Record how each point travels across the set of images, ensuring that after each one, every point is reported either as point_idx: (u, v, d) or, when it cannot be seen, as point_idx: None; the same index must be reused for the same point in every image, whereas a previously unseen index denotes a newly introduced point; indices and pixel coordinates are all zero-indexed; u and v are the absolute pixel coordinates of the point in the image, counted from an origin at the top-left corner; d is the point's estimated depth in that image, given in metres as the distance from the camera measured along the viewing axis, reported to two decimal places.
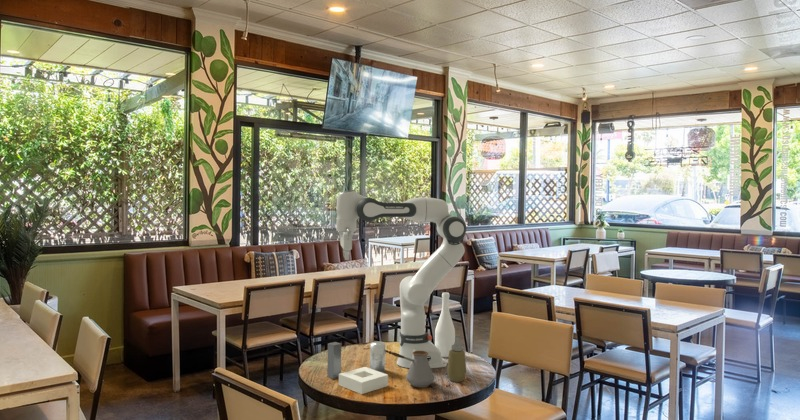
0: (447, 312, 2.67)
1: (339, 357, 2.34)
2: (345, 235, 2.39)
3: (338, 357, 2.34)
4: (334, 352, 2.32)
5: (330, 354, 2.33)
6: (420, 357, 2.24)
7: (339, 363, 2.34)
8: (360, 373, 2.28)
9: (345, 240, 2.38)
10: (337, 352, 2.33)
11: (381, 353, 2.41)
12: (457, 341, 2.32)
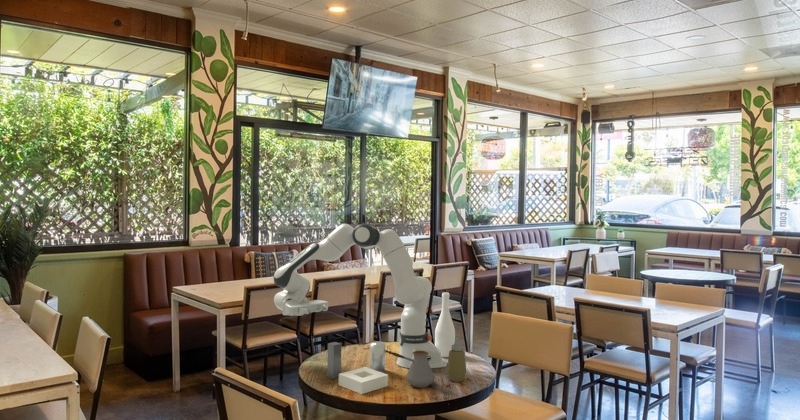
0: (447, 312, 2.67)
1: (339, 357, 2.34)
2: None
3: (338, 357, 2.34)
4: (334, 352, 2.32)
5: (330, 354, 2.33)
6: (420, 357, 2.24)
7: (339, 363, 2.34)
8: (360, 373, 2.28)
9: None
10: (337, 352, 2.33)
11: (381, 353, 2.41)
12: (457, 341, 2.32)
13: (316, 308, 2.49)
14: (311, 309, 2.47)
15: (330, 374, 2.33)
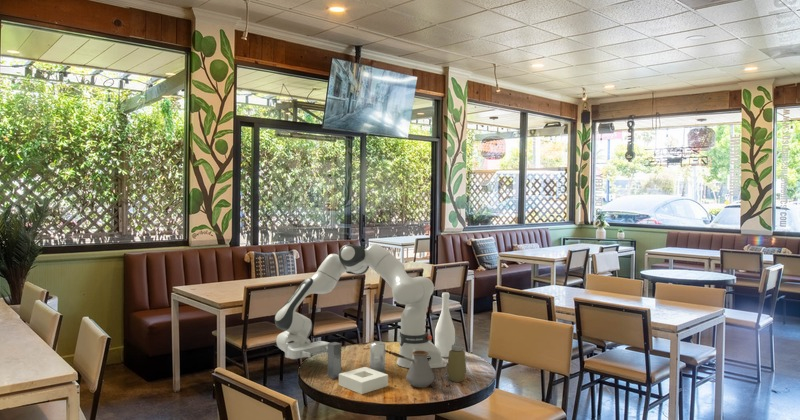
0: (447, 312, 2.67)
1: (339, 357, 2.34)
2: None
3: (338, 357, 2.34)
4: (334, 352, 2.32)
5: (330, 354, 2.33)
6: (420, 357, 2.24)
7: (339, 363, 2.34)
8: (360, 373, 2.28)
9: None
10: (337, 352, 2.33)
11: (381, 353, 2.41)
12: (457, 341, 2.32)
13: (319, 350, 2.47)
14: (314, 351, 2.45)
15: (330, 374, 2.33)
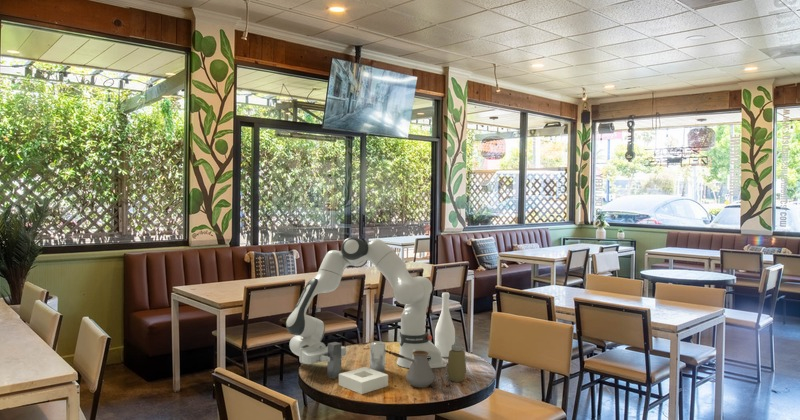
0: (447, 312, 2.67)
1: (339, 357, 2.34)
2: None
3: (338, 357, 2.34)
4: (334, 352, 2.32)
5: (330, 354, 2.33)
6: (420, 357, 2.24)
7: (339, 363, 2.34)
8: (360, 373, 2.28)
9: None
10: (337, 352, 2.33)
11: (381, 353, 2.41)
12: (457, 341, 2.32)
13: None
14: None
15: (330, 374, 2.33)
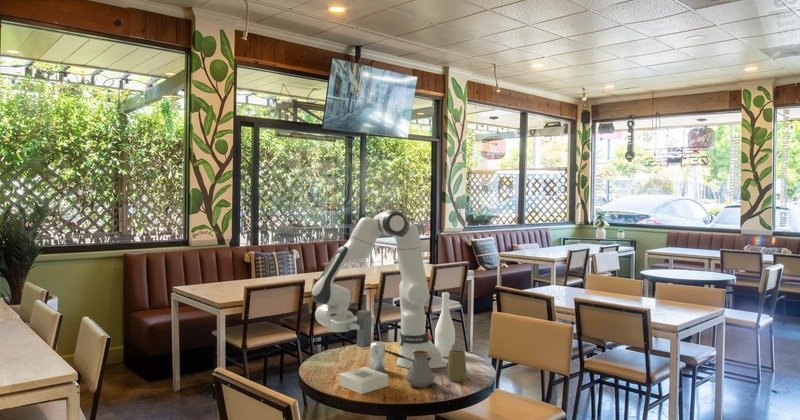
0: (447, 312, 2.67)
1: (369, 325, 2.24)
2: None
3: (368, 325, 2.23)
4: (364, 319, 2.22)
5: (360, 322, 2.23)
6: (420, 357, 2.24)
7: (369, 331, 2.24)
8: (360, 373, 2.28)
9: None
10: (367, 320, 2.23)
11: (381, 353, 2.41)
12: (457, 341, 2.32)
13: None
14: None
15: (360, 343, 2.23)
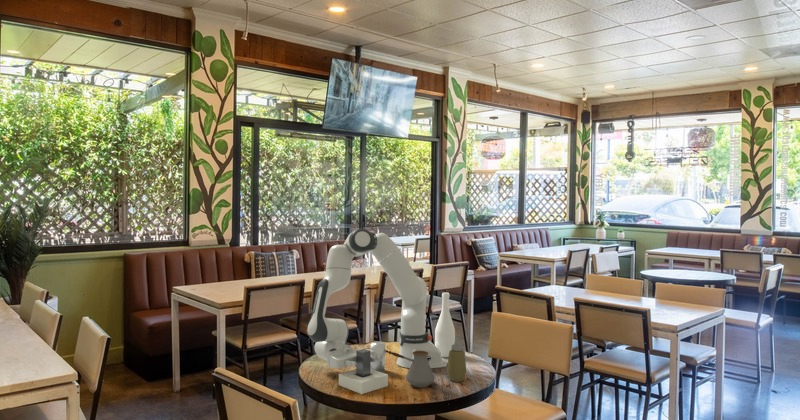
0: (447, 312, 2.67)
1: (368, 365, 2.24)
2: None
3: (367, 365, 2.24)
4: (363, 359, 2.22)
5: (359, 362, 2.23)
6: (420, 357, 2.24)
7: (368, 371, 2.24)
8: None
9: None
10: (366, 360, 2.23)
11: (381, 353, 2.41)
12: (457, 341, 2.32)
13: None
14: None
15: None
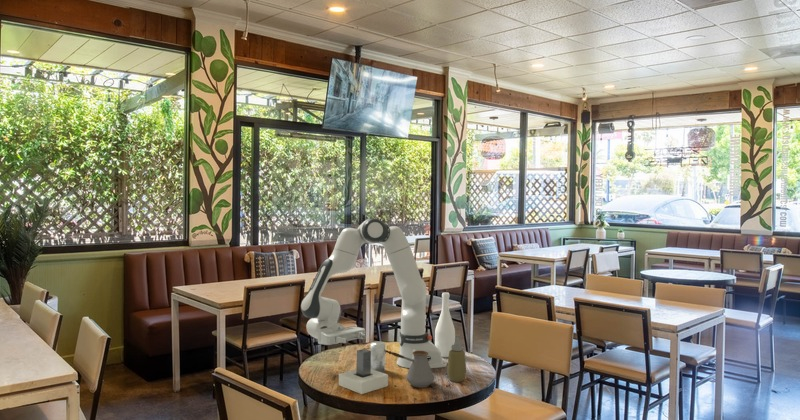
0: (447, 312, 2.67)
1: (369, 365, 2.24)
2: None
3: (368, 365, 2.24)
4: (364, 359, 2.22)
5: (359, 362, 2.23)
6: (420, 357, 2.24)
7: (369, 371, 2.24)
8: None
9: None
10: (366, 360, 2.23)
11: (381, 353, 2.41)
12: (457, 341, 2.32)
13: (353, 336, 2.34)
14: (348, 337, 2.32)
15: None
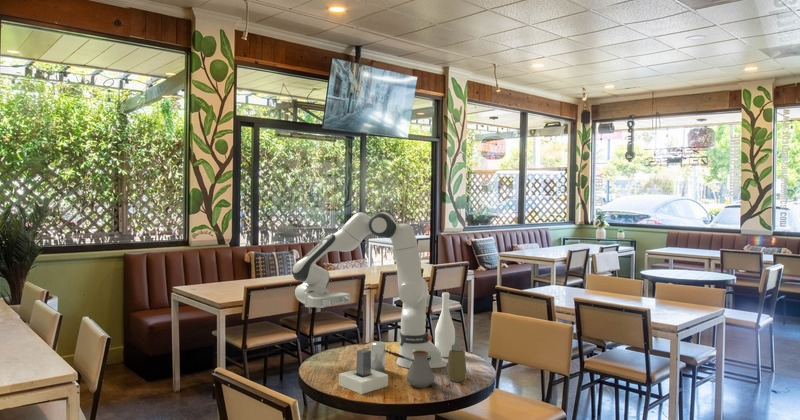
0: (447, 312, 2.67)
1: (369, 365, 2.24)
2: None
3: (368, 365, 2.24)
4: (364, 359, 2.22)
5: (359, 362, 2.23)
6: (420, 357, 2.24)
7: (369, 371, 2.24)
8: None
9: None
10: (366, 360, 2.23)
11: (381, 353, 2.41)
12: (457, 341, 2.32)
13: (338, 300, 2.48)
14: (333, 301, 2.46)
15: None
